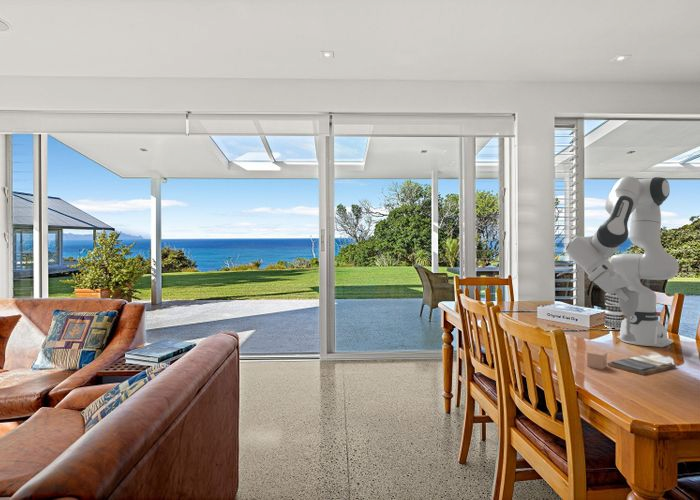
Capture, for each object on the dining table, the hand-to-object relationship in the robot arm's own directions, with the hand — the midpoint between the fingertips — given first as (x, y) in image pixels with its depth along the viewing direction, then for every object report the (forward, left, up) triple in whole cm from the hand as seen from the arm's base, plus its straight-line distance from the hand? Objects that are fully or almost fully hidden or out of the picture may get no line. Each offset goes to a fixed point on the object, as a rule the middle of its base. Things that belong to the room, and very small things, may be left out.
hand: (630, 299), depth 157 cm
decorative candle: (-56, -39, -23) cm, 72 cm away
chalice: (0, 0, -15) cm, 15 cm away
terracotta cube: (+17, -1, -23) cm, 29 cm away
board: (+2, +6, -23) cm, 24 cm away
